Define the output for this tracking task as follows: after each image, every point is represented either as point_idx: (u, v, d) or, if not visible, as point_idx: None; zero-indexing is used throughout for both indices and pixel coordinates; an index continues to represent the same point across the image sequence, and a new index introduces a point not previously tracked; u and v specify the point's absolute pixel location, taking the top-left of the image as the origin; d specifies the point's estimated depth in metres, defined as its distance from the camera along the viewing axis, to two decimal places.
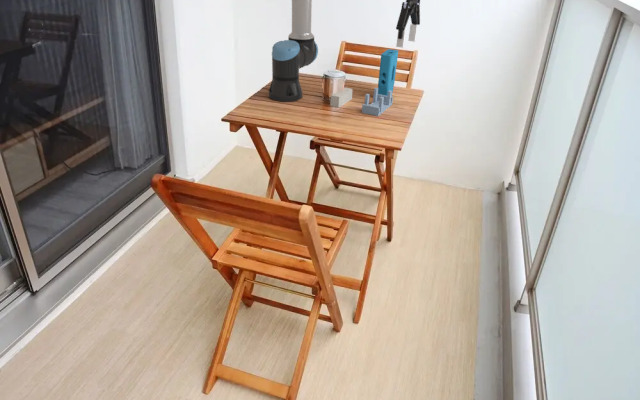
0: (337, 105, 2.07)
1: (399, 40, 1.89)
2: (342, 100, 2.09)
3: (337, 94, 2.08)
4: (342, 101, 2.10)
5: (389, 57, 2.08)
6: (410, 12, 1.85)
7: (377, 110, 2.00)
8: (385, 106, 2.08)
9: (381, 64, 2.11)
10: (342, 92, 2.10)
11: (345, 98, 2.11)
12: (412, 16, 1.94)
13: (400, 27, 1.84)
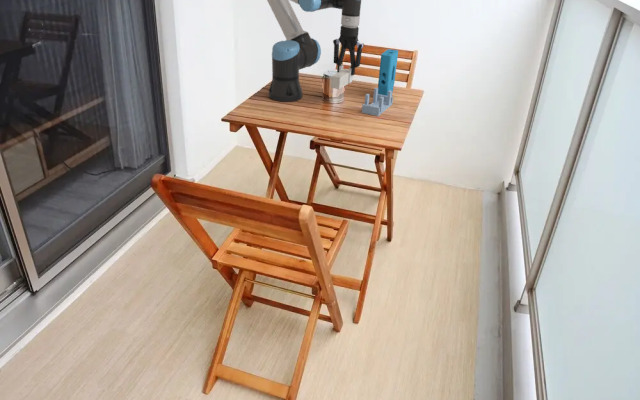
0: (338, 86, 2.03)
1: None
2: (342, 82, 2.05)
3: (338, 75, 2.04)
4: (343, 83, 2.06)
5: (389, 57, 2.08)
6: None
7: (377, 110, 2.00)
8: (385, 106, 2.08)
9: (381, 64, 2.11)
10: (343, 73, 2.06)
11: (345, 79, 2.07)
12: None
13: None
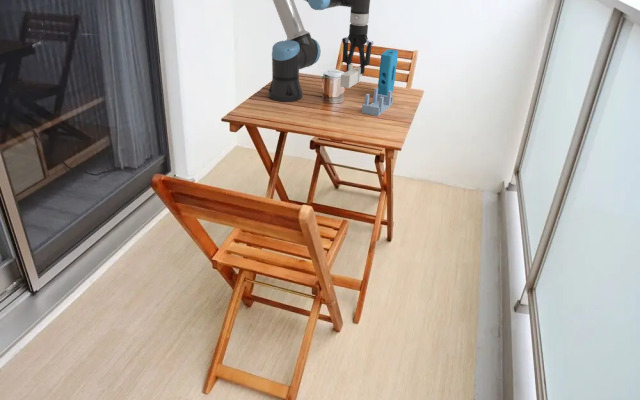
0: (347, 85, 2.01)
1: None
2: (352, 80, 2.03)
3: (347, 74, 2.01)
4: (352, 81, 2.03)
5: (389, 57, 2.08)
6: (350, 47, 2.02)
7: (377, 110, 2.00)
8: (385, 106, 2.08)
9: (381, 64, 2.11)
10: (352, 72, 2.04)
11: (355, 78, 2.05)
12: None
13: None
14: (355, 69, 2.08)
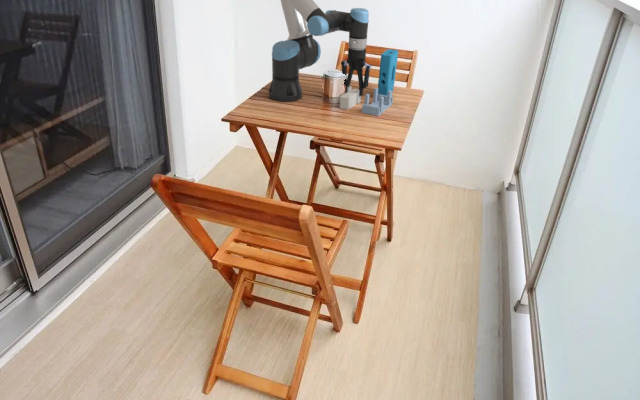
0: (347, 107, 2.06)
1: None
2: (351, 102, 2.07)
3: (347, 96, 2.06)
4: (351, 103, 2.08)
5: (389, 57, 2.08)
6: None
7: (377, 110, 2.00)
8: (385, 106, 2.08)
9: (381, 64, 2.11)
10: (351, 93, 2.09)
11: (354, 99, 2.09)
12: None
13: None
14: (354, 90, 2.12)
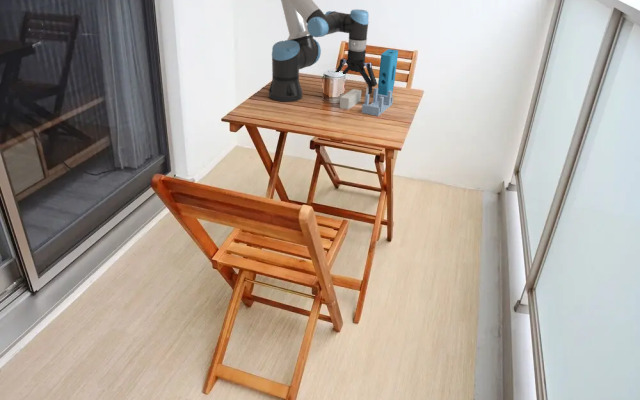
0: (347, 107, 2.06)
1: None
2: (351, 102, 2.07)
3: (347, 96, 2.06)
4: (351, 103, 2.08)
5: (389, 57, 2.08)
6: None
7: (377, 110, 2.00)
8: (385, 106, 2.08)
9: (381, 64, 2.11)
10: (351, 94, 2.09)
11: (354, 100, 2.10)
12: None
13: None
14: (354, 91, 2.12)
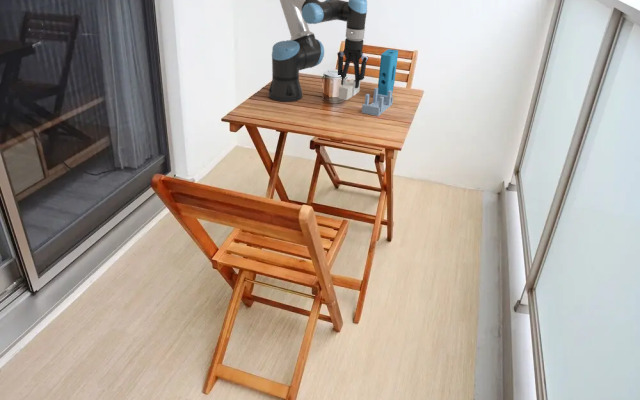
0: (345, 97, 2.04)
1: None
2: (350, 92, 2.06)
3: (345, 86, 2.04)
4: (350, 93, 2.06)
5: (389, 57, 2.08)
6: (345, 61, 2.03)
7: (377, 110, 2.00)
8: (385, 106, 2.08)
9: (381, 64, 2.11)
10: (350, 84, 2.07)
11: None
12: None
13: None
14: None
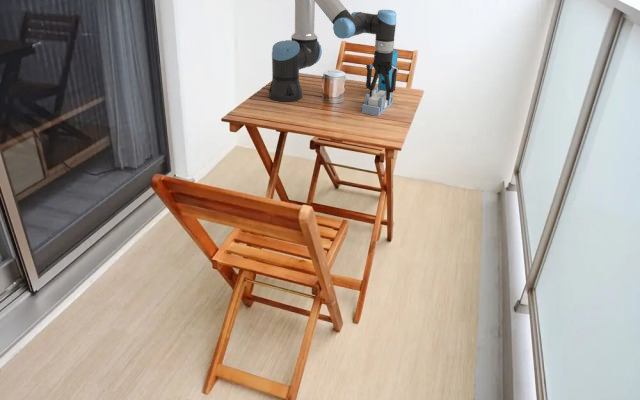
0: None
1: None
2: None
3: (375, 98, 2.02)
4: None
5: None
6: (374, 73, 2.01)
7: (377, 110, 2.00)
8: None
9: None
10: (379, 95, 2.05)
11: None
12: None
13: None
14: (381, 92, 2.08)
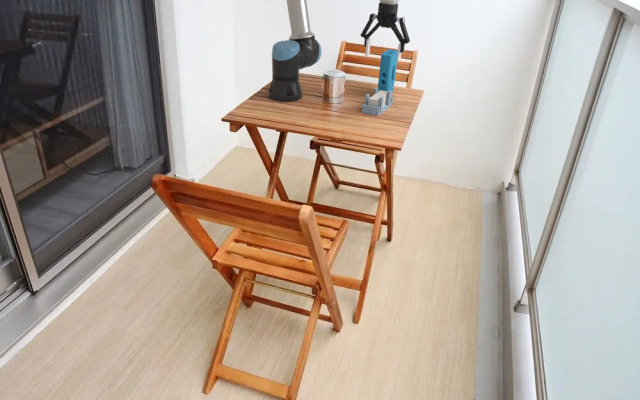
0: None
1: None
2: None
3: (375, 98, 2.02)
4: None
5: (389, 57, 2.08)
6: None
7: (377, 110, 2.00)
8: (385, 106, 2.08)
9: (381, 64, 2.11)
10: (379, 95, 2.05)
11: None
12: None
13: None
14: (381, 92, 2.08)
